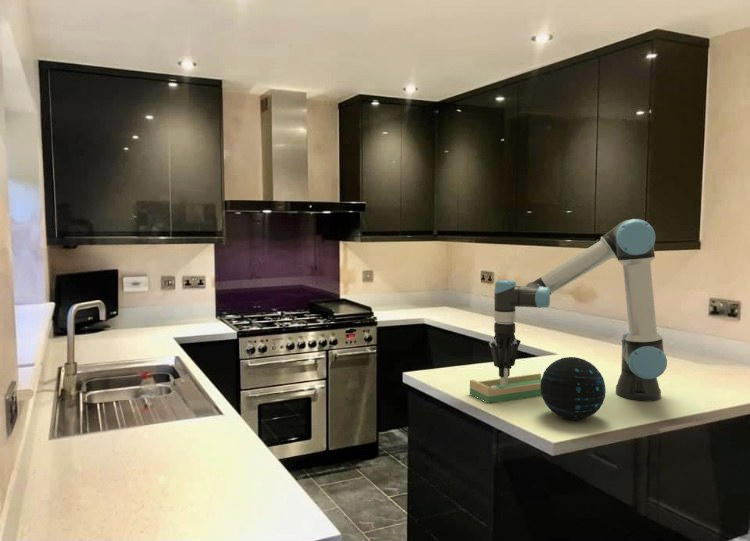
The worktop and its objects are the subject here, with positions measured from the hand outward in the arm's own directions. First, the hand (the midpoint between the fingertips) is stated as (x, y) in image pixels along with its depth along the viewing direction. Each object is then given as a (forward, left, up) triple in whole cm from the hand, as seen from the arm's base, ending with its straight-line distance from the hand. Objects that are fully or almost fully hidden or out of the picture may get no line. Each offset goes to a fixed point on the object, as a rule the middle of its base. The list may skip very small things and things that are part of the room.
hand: (504, 385), depth 210 cm
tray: (0, -5, -4) cm, 6 cm away
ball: (0, +5, -2) cm, 5 cm away
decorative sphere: (-30, -5, -4) cm, 31 cm away
